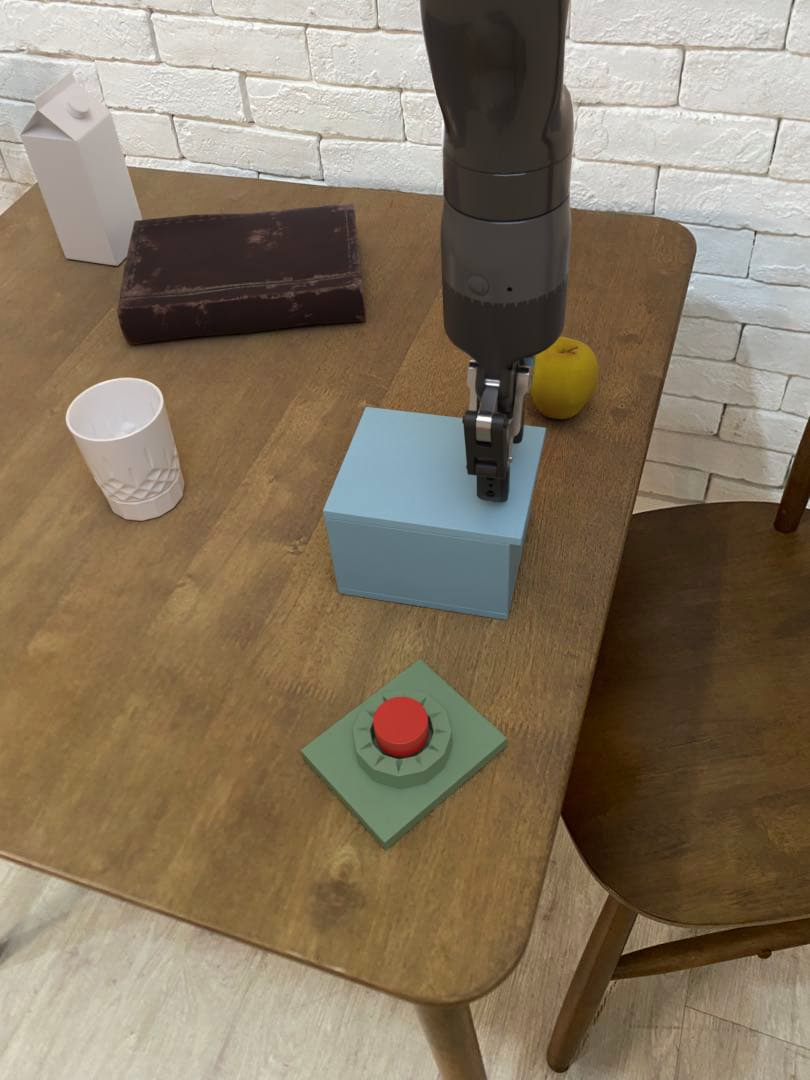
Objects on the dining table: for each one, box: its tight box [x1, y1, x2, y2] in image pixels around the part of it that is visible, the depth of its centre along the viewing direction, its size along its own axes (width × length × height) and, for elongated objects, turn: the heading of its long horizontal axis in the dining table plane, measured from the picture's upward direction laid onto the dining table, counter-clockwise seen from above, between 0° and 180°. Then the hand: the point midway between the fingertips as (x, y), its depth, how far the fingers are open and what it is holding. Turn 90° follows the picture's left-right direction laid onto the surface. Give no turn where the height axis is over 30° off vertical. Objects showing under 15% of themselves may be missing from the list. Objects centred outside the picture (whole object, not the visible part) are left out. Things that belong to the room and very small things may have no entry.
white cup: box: [65, 377, 185, 522], centre depth 80 cm, size 8×8×10 cm
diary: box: [116, 202, 367, 345], centre depth 102 cm, size 19×25×5 cm
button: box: [373, 697, 429, 757], centre depth 62 cm, size 4×4×2 cm
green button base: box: [300, 658, 508, 851], centre depth 64 cm, size 11×9×3 cm
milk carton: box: [19, 70, 143, 267], centre depth 105 cm, size 7×7×19 cm
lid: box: [322, 406, 547, 546], centre depth 68 cm, size 14×12×6 cm
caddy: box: [324, 498, 533, 621], centre depth 74 cm, size 14×12×9 cm
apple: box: [529, 335, 600, 420], centre depth 85 cm, size 6×6×8 cm
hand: (500, 466), depth 68 cm, fingers closed on lid, 5 cm apart
